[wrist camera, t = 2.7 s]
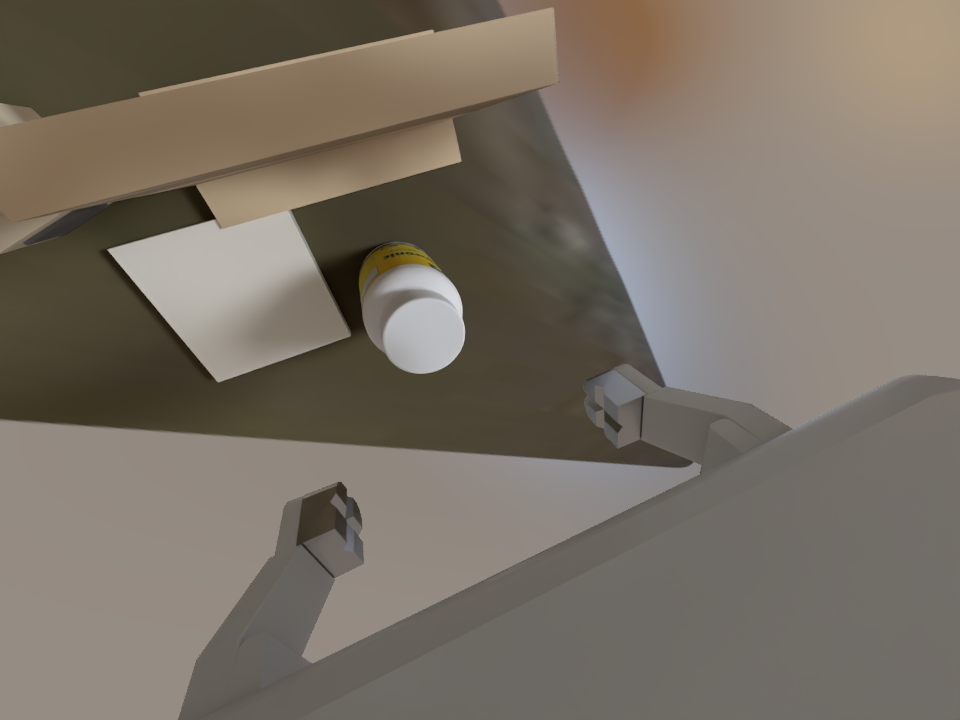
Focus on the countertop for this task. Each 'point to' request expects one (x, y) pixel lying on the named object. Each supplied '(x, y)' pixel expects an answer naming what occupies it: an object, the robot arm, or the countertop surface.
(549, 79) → the tan t-shaped stand
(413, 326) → the supplement bottle
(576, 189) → the countertop surface
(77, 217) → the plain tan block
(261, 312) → the coaster
